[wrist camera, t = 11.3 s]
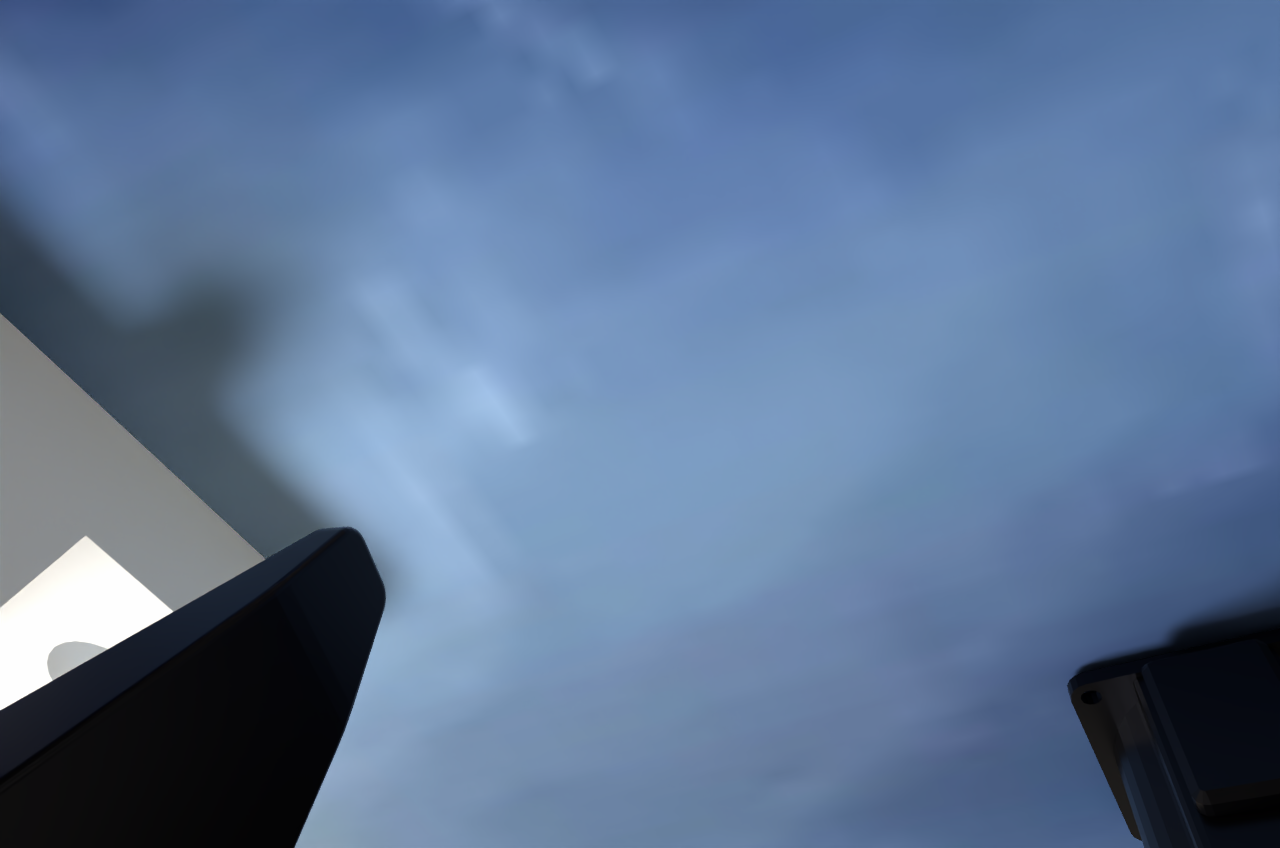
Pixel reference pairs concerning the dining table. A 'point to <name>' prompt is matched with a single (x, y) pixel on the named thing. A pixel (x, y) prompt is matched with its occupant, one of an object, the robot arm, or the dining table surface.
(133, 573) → the u-slot stand
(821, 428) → the dining table surface
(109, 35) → the dining table surface
